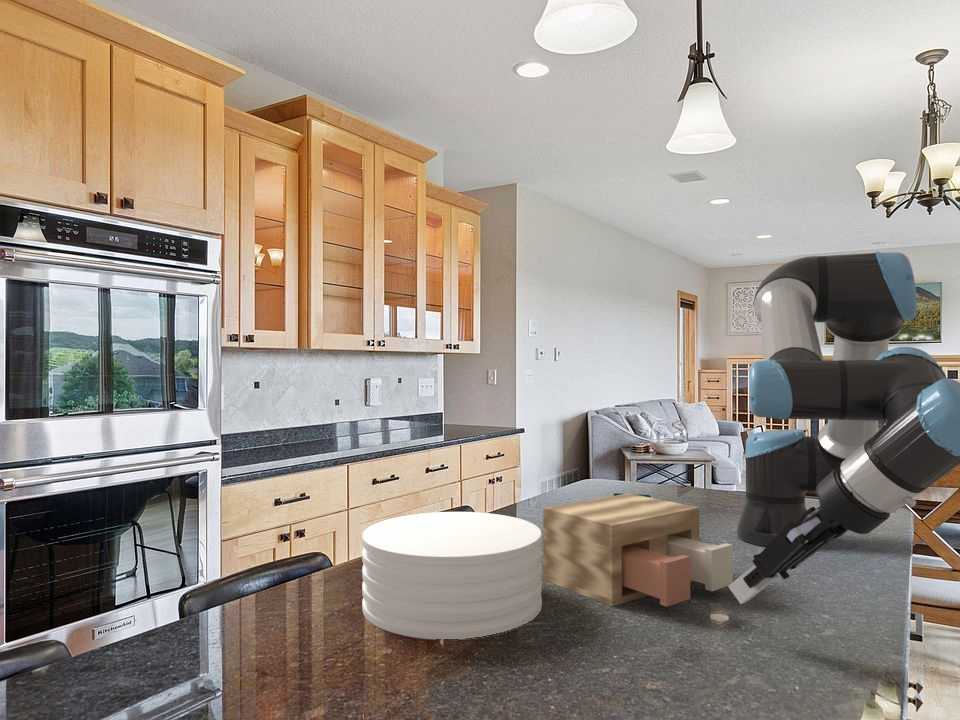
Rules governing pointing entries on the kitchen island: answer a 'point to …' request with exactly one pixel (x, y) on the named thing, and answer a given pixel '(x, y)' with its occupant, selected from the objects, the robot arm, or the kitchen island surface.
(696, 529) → the wooden box
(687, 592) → the rust plug
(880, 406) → the robot arm
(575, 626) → the kitchen island surface
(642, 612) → the kitchen island surface
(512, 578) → the plate stack
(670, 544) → the cream plug
